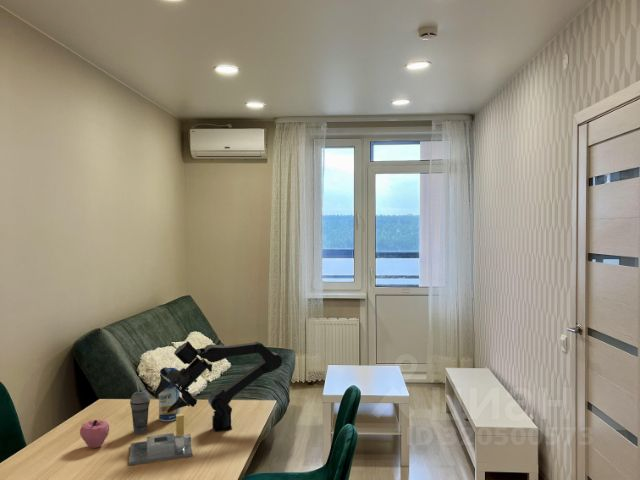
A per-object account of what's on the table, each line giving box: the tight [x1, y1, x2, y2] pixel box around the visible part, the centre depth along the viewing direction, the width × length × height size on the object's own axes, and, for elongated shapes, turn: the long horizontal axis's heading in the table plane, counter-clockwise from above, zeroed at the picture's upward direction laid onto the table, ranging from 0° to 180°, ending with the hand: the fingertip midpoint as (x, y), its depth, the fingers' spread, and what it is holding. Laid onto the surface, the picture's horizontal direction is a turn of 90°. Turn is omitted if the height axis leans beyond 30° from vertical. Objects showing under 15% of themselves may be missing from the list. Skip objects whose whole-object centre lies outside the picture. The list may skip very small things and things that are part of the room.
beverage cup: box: [129, 378, 151, 435], centre depth 190 cm, size 7×7×20 cm
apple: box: [79, 419, 110, 449], centre depth 177 cm, size 10×9×10 cm
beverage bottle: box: [158, 367, 181, 422], centre depth 204 cm, size 8×8×20 cm
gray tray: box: [128, 432, 193, 466], centre depth 172 cm, size 20×16×6 cm
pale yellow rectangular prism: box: [175, 412, 185, 436], centre depth 185 cm, size 3×3×8 cm
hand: (160, 404), depth 184 cm, fingers open, 9 cm apart
